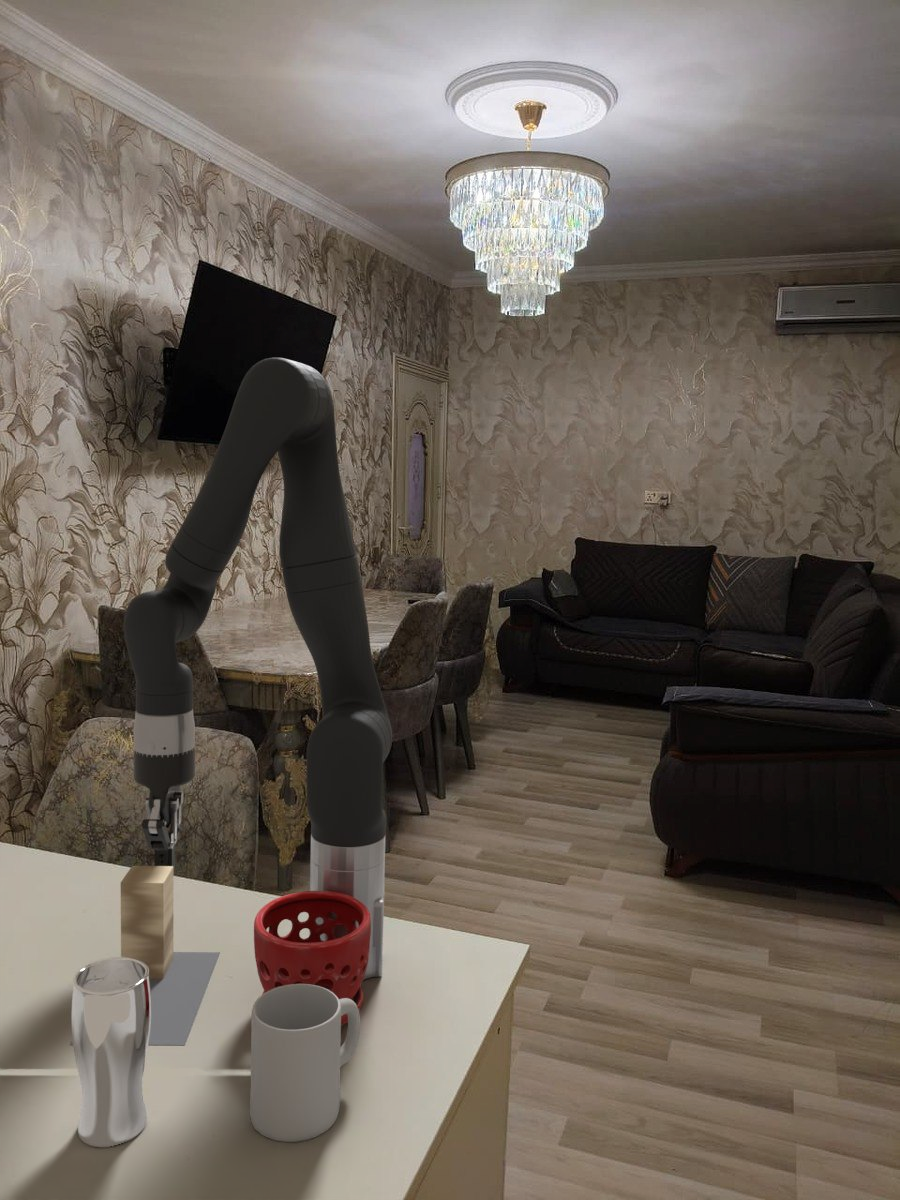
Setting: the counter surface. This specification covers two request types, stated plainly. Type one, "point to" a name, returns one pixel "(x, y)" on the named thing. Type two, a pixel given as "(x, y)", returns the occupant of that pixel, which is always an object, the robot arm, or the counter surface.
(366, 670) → the robot arm
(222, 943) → the counter surface
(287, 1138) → the mug
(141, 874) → the maple block
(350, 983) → the plant pot
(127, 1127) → the beer glass
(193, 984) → the rubber mat
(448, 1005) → the counter surface
